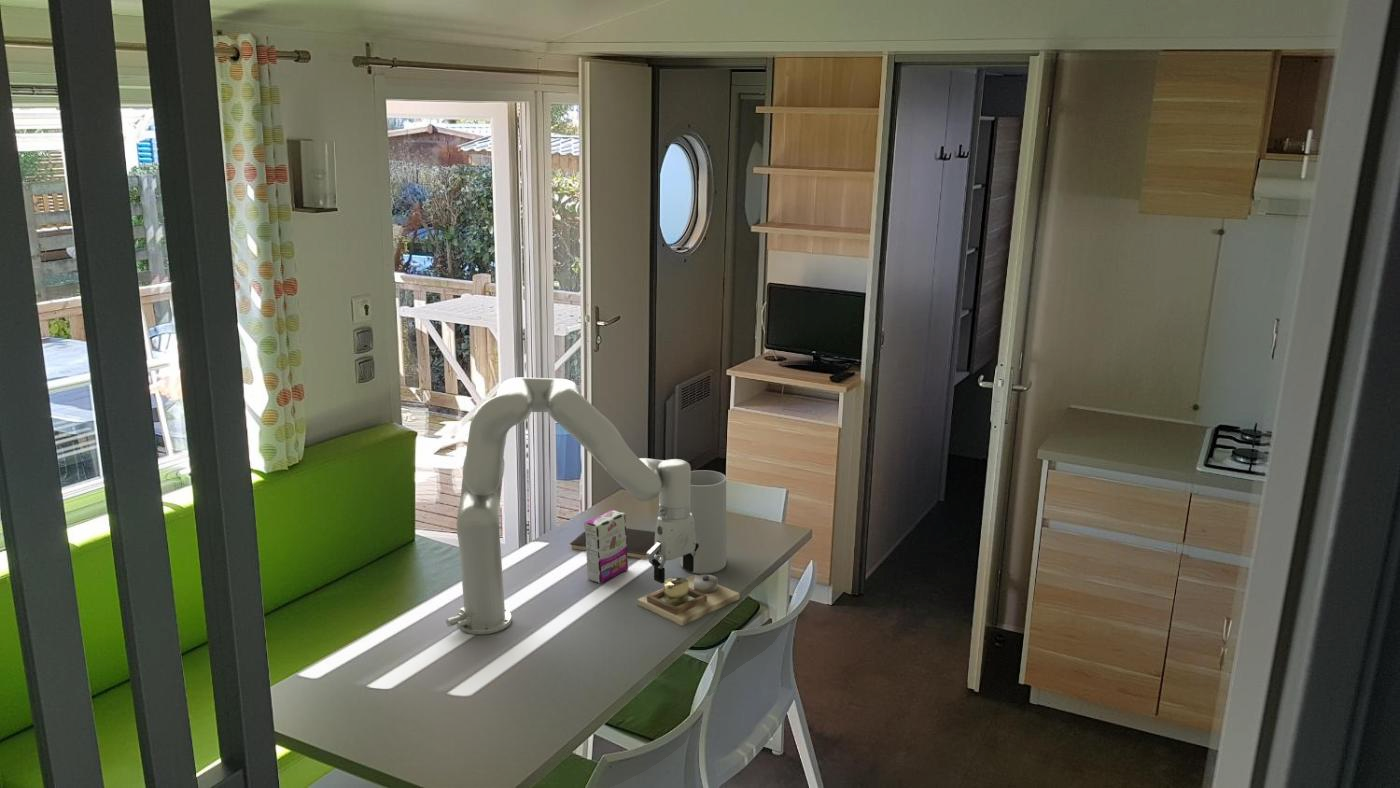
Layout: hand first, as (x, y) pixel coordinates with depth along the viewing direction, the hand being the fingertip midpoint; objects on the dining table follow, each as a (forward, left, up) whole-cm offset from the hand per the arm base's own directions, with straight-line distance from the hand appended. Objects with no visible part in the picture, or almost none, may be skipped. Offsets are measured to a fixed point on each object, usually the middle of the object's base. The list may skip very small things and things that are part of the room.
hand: (673, 575), depth 253 cm
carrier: (+5, 0, -8) cm, 10 cm away
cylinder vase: (+23, +13, -9) cm, 27 cm away
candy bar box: (+1, +27, -9) cm, 28 cm away
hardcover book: (+16, +41, -9) cm, 45 cm away
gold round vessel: (0, 0, -7) cm, 7 cm away
